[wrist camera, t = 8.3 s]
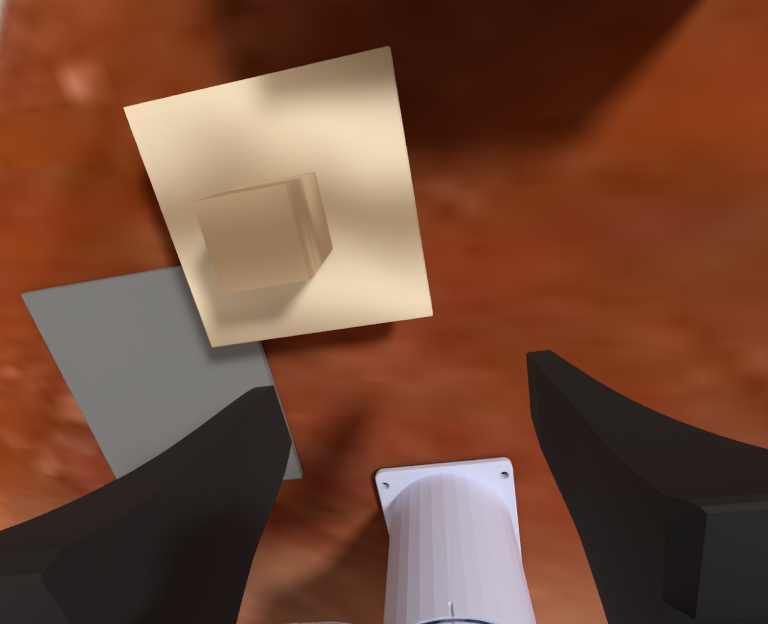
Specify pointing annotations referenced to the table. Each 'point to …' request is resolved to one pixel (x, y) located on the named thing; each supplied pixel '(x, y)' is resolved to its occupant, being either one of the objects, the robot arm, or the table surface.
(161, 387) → the mat
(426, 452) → the table surface
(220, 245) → the lid
